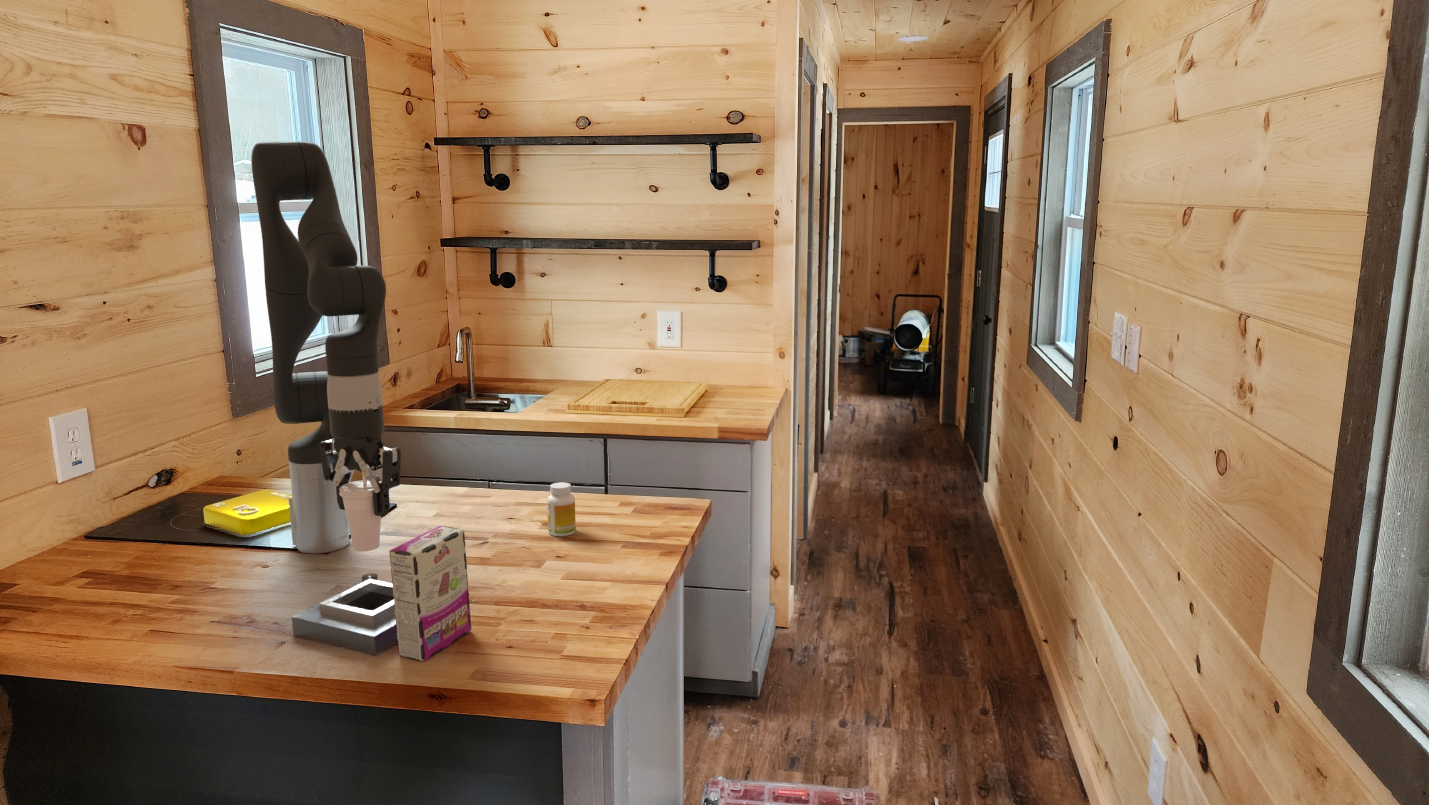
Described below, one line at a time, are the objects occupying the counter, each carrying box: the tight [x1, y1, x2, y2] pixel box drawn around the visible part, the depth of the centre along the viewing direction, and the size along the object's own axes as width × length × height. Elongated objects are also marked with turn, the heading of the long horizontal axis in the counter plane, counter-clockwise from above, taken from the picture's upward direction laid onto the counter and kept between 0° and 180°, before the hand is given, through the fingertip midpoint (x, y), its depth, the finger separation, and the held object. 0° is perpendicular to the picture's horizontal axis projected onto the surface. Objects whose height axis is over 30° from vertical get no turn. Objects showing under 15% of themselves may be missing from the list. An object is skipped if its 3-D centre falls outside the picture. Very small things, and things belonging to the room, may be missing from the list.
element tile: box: [202, 488, 292, 535], centre depth 191 cm, size 15×15×5 cm
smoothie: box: [339, 472, 382, 552], centre depth 142 cm, size 6×6×14 cm
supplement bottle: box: [546, 481, 577, 537], centre depth 185 cm, size 5×5×10 cm
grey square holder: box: [291, 572, 398, 657], centre depth 145 cm, size 16×16×4 cm
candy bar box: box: [388, 525, 472, 662], centre depth 138 cm, size 11×5×16 cm, turn 157°
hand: (364, 511), depth 142 cm, fingers closed on smoothie, 6 cm apart
